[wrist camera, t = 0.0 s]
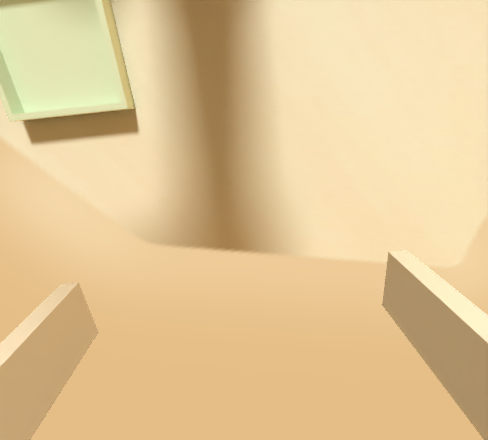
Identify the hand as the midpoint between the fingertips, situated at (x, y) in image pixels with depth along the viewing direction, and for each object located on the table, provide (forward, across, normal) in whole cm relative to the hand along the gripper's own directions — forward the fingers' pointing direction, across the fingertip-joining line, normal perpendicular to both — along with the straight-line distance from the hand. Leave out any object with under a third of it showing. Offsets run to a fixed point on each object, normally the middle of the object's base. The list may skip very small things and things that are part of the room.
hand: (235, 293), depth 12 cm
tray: (+28, -19, +16) cm, 38 cm away
